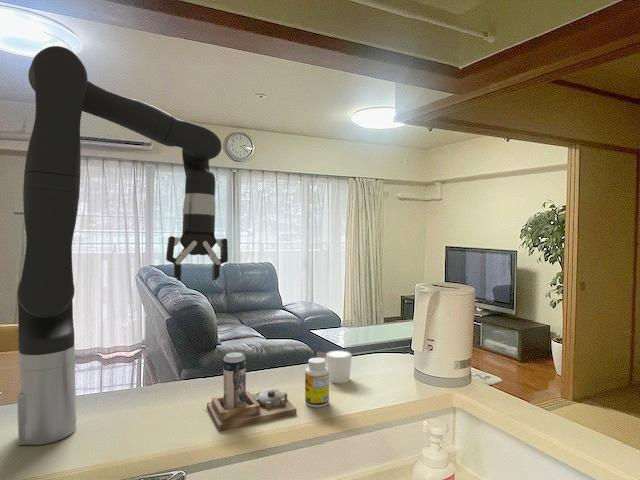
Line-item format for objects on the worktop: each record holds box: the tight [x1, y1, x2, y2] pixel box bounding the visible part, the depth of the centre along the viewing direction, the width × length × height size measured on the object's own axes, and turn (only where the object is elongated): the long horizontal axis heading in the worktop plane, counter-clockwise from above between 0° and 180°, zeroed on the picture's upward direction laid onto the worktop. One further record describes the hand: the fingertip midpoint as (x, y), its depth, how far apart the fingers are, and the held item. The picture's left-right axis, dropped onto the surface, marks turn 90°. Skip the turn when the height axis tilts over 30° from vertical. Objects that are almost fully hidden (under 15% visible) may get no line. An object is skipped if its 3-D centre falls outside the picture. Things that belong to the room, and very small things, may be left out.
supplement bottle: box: [304, 357, 330, 408], centre depth 97 cm, size 6×6×10 cm
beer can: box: [222, 351, 247, 410], centre depth 92 cm, size 5×5×12 cm
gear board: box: [206, 389, 298, 432], centre depth 93 cm, size 17×12×3 cm
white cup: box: [325, 350, 353, 384], centre depth 112 cm, size 7×7×7 cm
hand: (196, 280), depth 101 cm, fingers open, 8 cm apart
